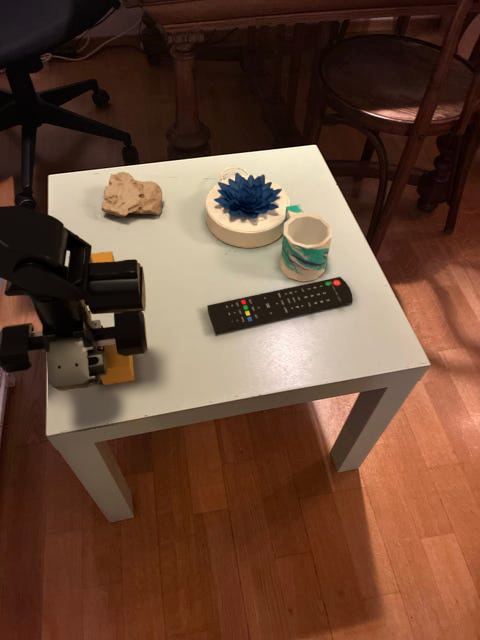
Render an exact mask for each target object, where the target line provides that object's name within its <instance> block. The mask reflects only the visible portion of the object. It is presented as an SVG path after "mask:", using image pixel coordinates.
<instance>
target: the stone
mask: <svg viewBox="0 0 480 640" xmlns="http://www.w3.org/2000/svg"><path fill="white" fill-rule="evenodd" d="M162 202H163V190H162V188H161V186H160V185H159V184H158V183H157V182H154V181H152V180H146V181H141V180H136V179H134V177H133V176H132V174H130V173H129V172H125V171H120V172H119V171H118V172H117V173H113V174H112V173H111V174H110V176H109V179H108V185H107V186H106V187H105V188H104V191H103V202H102V204H101V211H102V212H103V213H106V214H109V215H114V216H116V217H121V218H122V217H126V216H127V215H128V214H139V215H140V214H141V215H156V216H158V215H161V212H162Z"/></svg>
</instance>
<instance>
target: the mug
mask: <svg viewBox="0 0 480 640" xmlns="http://www.w3.org/2000/svg"><path fill="white" fill-rule="evenodd" d="M332 227H333V226H332V225H331V224H330V223H329V222H328V221H327V220H326V219H325V218H324V217H323V216H320V215H318V214H317V215H316V214H313V213H310V212H306V213H305V212H304V210H303V207H302V206H301V204H295V205H290V206H287V207H286V214H285V223H284V230H283V234H282V240H281V241H282V243H281V253H280V265H279V268H280V270H281V271H282V272H283V273H284V274H285V276H286V277H287V278H289V279H292V280H296V281H299V282H309V281H315V280H317V279H318V278H319V277H321V275H323V273H324V272H325V271H326V267H327V263H328V257H329V252H330V248H331V242H332V239H333V238H332V237H333V232H332V231H333V230H332Z"/></svg>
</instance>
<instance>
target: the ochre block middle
mask: <svg viewBox="0 0 480 640" xmlns="http://www.w3.org/2000/svg"><path fill="white" fill-rule="evenodd" d="M91 258H92V261H93V263H95V262H115V261H116V260H115V257H114V254H113V251H112V250H110V251H101V252H94V253H93V252H92V253H91Z"/></svg>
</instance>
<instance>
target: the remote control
mask: <svg viewBox="0 0 480 640" xmlns="http://www.w3.org/2000/svg"><path fill="white" fill-rule="evenodd" d="M353 300H354V298H353V293H352V290H351V287H350V286H349V285H348V283H347V282H346V281H345V280H344V279H343V278H342V276H337V277H332V278H328V279H323V280H318V281H313V282H309V283H305V284H300V285H296V286H291V287H286V288H282V289H277V290H273V291H269V292H268V291H267V292H263V293H258V294H254V295H249V296H243V297H240V298H235V299H230V300H226V301H222V302H217V303H211V304H207V306H206V307H207V308H206V309H207V313H208V316H209V319H210V320H209V321H210V323H211V327H212V329H213V331H214V334H215V335H217V334H221V333H226V332H230V331H234V330H239V329H244V328H248V327H253V326H258V325H261V324H265V323H271V322H273V321H274V322H275V321H278V320H283V319H287V318H292V317H296V316H301V315H306V314H309V313H314V312H320V311H322V310H328V309H331V308H336V307H340V306H345V305H349V304H353Z"/></svg>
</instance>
